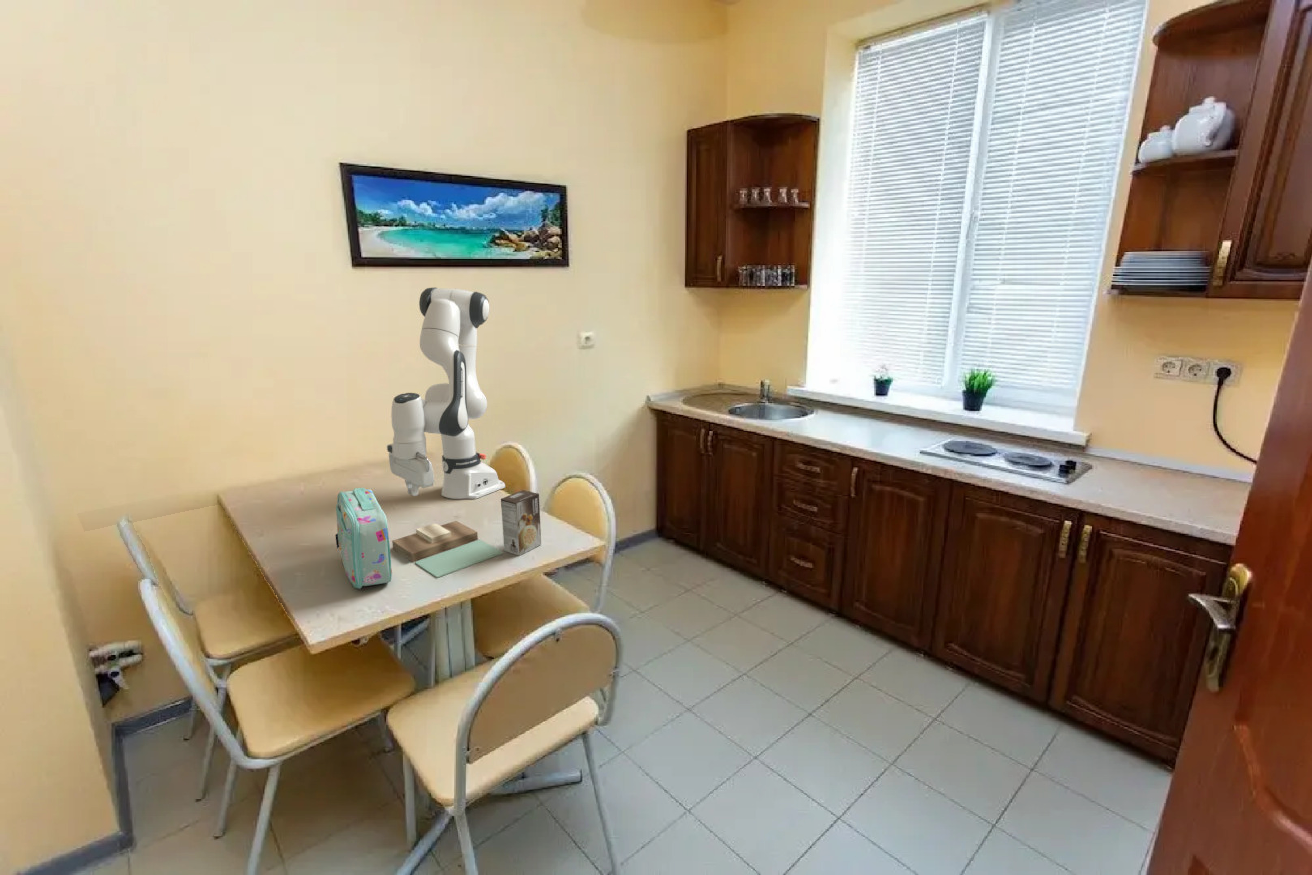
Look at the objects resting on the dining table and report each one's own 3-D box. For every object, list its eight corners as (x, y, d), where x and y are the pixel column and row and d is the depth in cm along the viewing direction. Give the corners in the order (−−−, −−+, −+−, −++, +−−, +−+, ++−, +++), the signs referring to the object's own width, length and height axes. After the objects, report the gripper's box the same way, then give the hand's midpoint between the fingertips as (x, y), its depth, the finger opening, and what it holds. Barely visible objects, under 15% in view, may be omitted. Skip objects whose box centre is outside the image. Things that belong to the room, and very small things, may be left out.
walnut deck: (456, 528, 187) (456, 520, 186) (477, 539, 179) (477, 531, 178) (393, 548, 172) (392, 540, 172) (413, 562, 165) (412, 553, 164)
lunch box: (336, 557, 167) (326, 484, 161) (376, 548, 173) (368, 477, 167) (353, 598, 146) (343, 516, 140) (398, 587, 152) (390, 507, 146)
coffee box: (525, 539, 180) (523, 488, 176) (541, 544, 176) (540, 493, 172) (503, 550, 172) (500, 498, 168) (519, 556, 169) (517, 503, 165)
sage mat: (479, 540, 178) (479, 539, 178) (503, 553, 171) (503, 552, 171) (415, 563, 164) (414, 561, 164) (437, 578, 156) (437, 576, 156)
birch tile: (435, 527, 181) (435, 523, 180) (451, 536, 175) (450, 531, 175) (416, 533, 176) (416, 529, 176) (431, 543, 171) (431, 538, 170)
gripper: (438, 454, 171) (441, 500, 175) (404, 441, 184) (407, 484, 188) (417, 458, 167) (420, 505, 170) (383, 444, 180) (387, 488, 183)
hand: (413, 494), depth 179 cm, fingers closed
